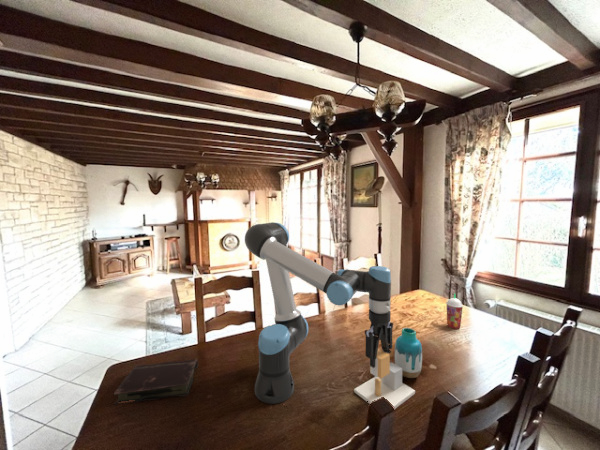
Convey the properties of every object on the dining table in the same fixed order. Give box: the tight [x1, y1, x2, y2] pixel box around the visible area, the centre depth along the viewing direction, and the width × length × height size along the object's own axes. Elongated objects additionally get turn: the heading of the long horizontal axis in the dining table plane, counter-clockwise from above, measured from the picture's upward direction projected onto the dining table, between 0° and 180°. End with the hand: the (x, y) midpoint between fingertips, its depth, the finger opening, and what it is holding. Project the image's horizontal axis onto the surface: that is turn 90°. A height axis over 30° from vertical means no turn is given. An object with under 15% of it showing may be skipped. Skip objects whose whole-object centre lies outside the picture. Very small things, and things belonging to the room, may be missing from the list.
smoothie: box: [446, 293, 464, 330], centre depth 151 cm, size 8×8×20 cm
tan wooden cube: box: [376, 348, 391, 379], centre depth 94 cm, size 5×5×7 cm
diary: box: [113, 358, 199, 405], centre depth 103 cm, size 19×25×5 cm
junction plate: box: [353, 361, 416, 409], centre depth 98 cm, size 18×14×8 cm
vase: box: [394, 327, 423, 379], centre depth 108 cm, size 11×11×19 cm
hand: (379, 371), depth 95 cm, fingers closed on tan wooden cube, 5 cm apart
